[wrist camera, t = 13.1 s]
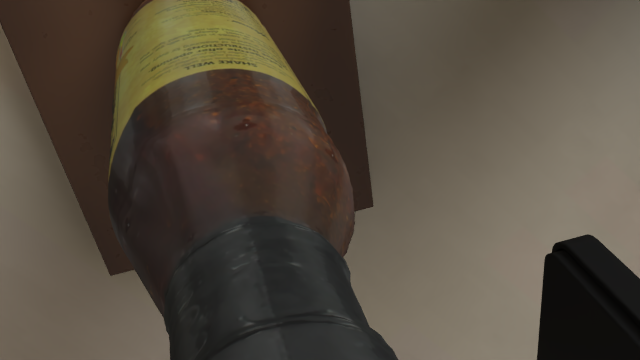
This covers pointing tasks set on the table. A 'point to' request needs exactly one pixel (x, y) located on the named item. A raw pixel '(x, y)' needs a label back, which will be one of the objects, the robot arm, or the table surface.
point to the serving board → (99, 83)
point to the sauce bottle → (231, 191)
